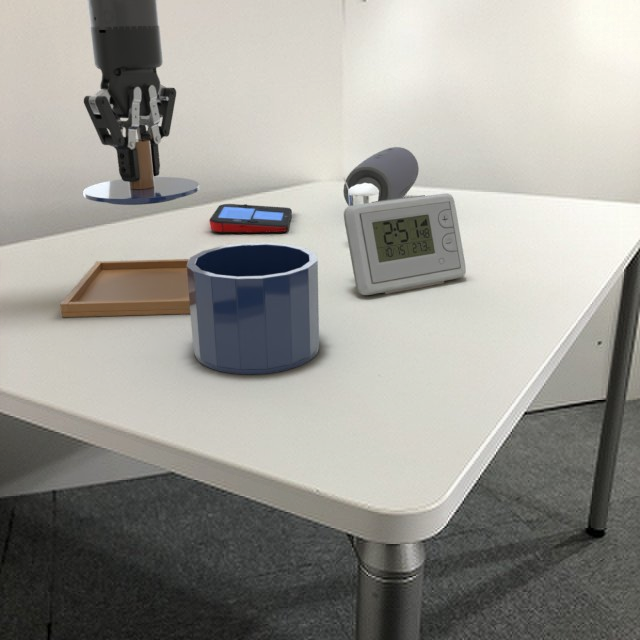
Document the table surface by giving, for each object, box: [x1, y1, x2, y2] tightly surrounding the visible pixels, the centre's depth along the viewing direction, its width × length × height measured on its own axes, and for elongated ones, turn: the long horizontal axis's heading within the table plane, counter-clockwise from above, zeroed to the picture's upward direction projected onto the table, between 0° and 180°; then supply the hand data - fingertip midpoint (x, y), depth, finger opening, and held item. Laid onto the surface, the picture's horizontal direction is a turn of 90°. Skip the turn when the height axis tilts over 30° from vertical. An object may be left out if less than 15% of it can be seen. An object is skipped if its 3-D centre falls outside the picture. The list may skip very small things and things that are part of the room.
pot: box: [187, 242, 320, 375], centre depth 78 cm, size 13×13×10 cm
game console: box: [209, 203, 293, 234], centre depth 130 cm, size 14×13×2 cm
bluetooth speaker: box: [342, 146, 420, 207], centre depth 138 cm, size 23×9×10 cm, turn 162°
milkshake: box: [342, 176, 379, 207], centre depth 116 cm, size 4×5×10 cm
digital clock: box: [343, 192, 467, 296], centre depth 97 cm, size 16×9×11 cm, turn 106°
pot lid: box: [82, 138, 201, 206], centre depth 92 cm, size 14×14×7 cm
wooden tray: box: [60, 258, 191, 318], centre depth 97 cm, size 18×18×2 cm
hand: (140, 177), depth 93 cm, fingers closed on pot lid, 3 cm apart
